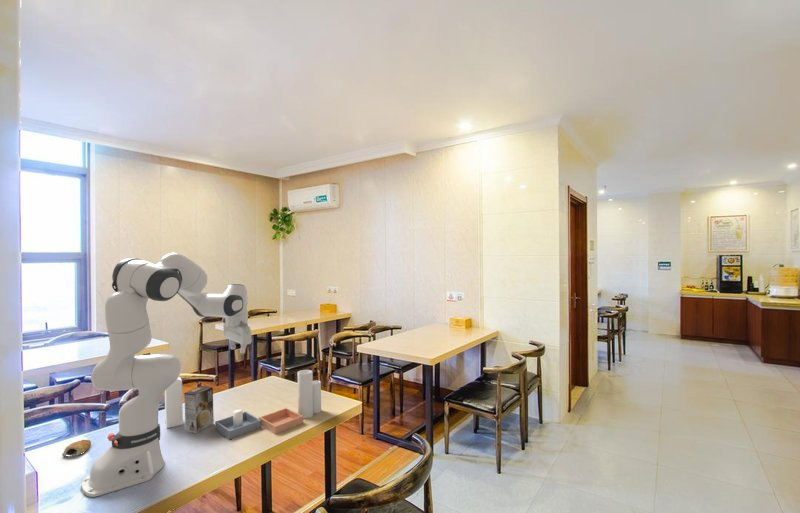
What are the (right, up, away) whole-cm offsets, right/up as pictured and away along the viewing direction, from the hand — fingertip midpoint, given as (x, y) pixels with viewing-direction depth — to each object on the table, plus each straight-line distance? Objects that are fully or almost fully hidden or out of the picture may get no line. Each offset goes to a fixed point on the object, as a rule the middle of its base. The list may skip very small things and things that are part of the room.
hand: (237, 351), depth 171 cm
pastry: (-48, -31, -27) cm, 64 cm away
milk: (-25, -30, -5) cm, 40 cm away
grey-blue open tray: (+5, -30, -11) cm, 32 cm away
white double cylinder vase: (+31, -30, +4) cm, 43 cm away
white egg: (+5, -30, -11) cm, 32 cm away
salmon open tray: (+21, -30, -7) cm, 37 cm away
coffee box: (-13, -30, -9) cm, 34 cm away
